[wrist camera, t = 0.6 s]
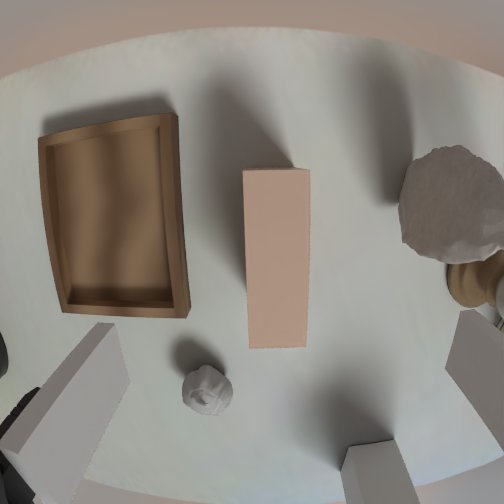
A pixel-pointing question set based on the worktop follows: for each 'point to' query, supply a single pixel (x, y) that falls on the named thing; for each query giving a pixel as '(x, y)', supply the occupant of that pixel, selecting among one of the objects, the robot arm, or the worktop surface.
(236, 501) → the worktop surface
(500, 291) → the candle holder
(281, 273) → the tan rectangular block
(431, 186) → the stone tool
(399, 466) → the milk carton
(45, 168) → the tray
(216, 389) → the garlic
